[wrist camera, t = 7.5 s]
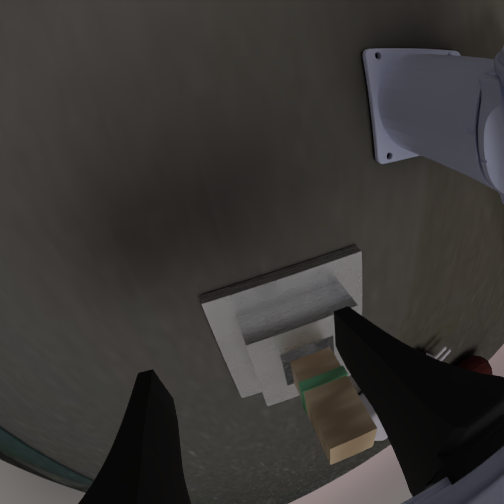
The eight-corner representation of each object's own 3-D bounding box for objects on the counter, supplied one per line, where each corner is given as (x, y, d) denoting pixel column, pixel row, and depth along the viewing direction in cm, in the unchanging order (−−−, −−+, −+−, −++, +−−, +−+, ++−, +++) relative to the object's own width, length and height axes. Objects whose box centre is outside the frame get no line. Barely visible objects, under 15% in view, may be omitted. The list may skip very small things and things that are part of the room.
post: (331, 345, 22) (379, 426, 16) (332, 371, 24) (373, 446, 17) (288, 361, 22) (328, 449, 15) (293, 386, 23) (328, 465, 17)
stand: (355, 244, 24) (385, 274, 20) (356, 347, 30) (376, 378, 26) (199, 295, 23) (207, 337, 19) (239, 390, 29) (250, 426, 25)
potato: (440, 366, 39) (466, 399, 33) (479, 339, 39) (506, 368, 33) (432, 391, 42) (454, 421, 37) (470, 366, 43) (492, 393, 37)
